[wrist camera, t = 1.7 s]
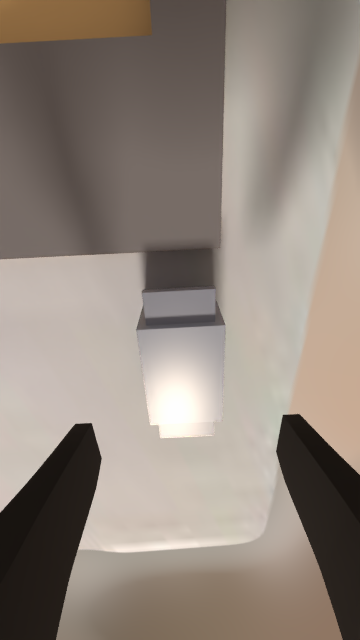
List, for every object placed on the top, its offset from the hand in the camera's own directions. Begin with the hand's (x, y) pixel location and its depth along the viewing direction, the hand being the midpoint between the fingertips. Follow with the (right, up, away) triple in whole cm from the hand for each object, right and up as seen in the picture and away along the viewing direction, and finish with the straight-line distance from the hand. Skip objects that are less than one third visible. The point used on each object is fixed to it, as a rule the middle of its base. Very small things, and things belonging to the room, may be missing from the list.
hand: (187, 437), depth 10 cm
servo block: (0, +3, +7) cm, 7 cm away
